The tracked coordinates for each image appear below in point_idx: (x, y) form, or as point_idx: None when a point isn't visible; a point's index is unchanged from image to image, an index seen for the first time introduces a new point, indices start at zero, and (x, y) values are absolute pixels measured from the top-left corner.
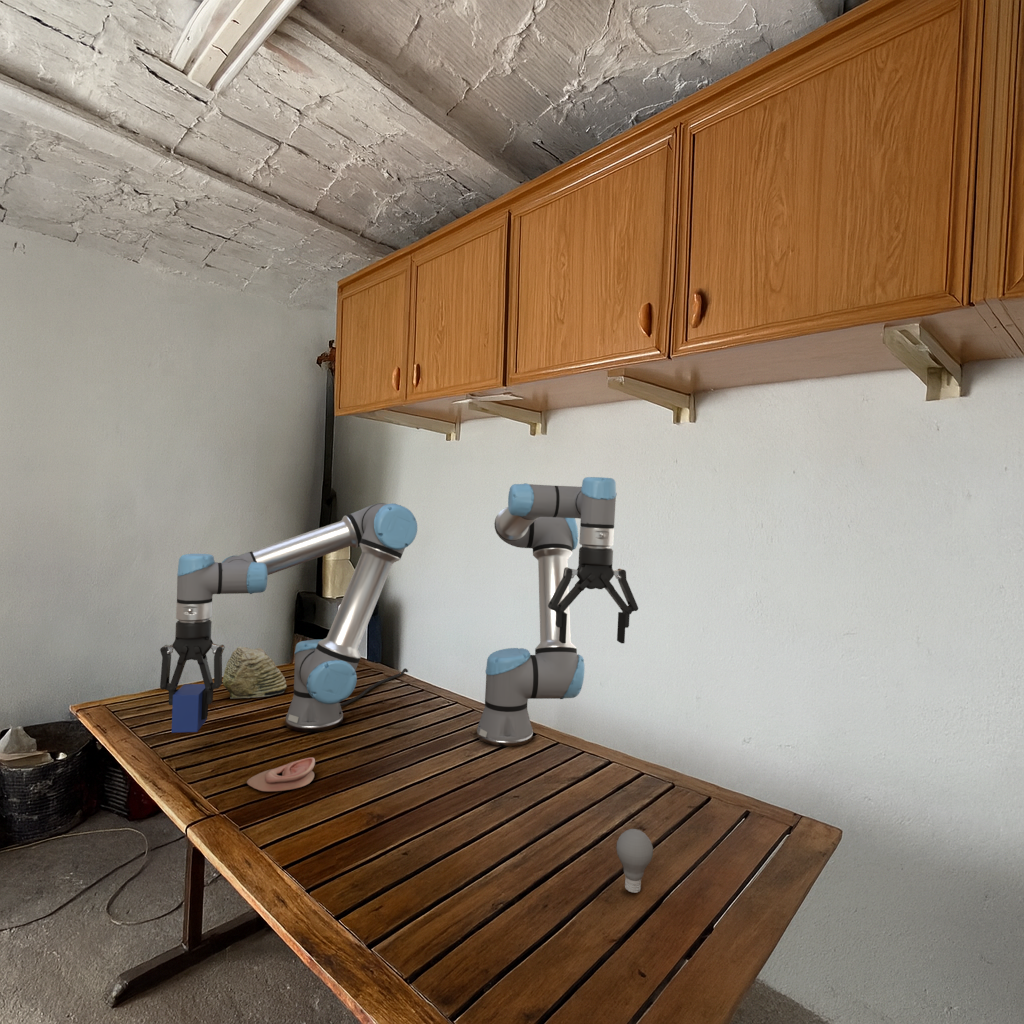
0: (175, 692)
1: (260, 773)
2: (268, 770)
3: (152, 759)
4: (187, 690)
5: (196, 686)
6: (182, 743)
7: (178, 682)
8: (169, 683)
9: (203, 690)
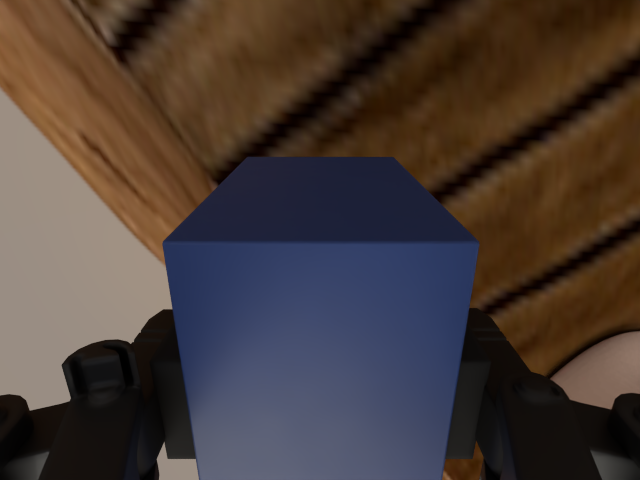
0: (185, 456)
1: (586, 395)
2: (614, 390)
3: (183, 189)
4: (291, 454)
5: (348, 338)
6: (236, 8)
7: (133, 443)
8: (39, 470)
9: (447, 433)
